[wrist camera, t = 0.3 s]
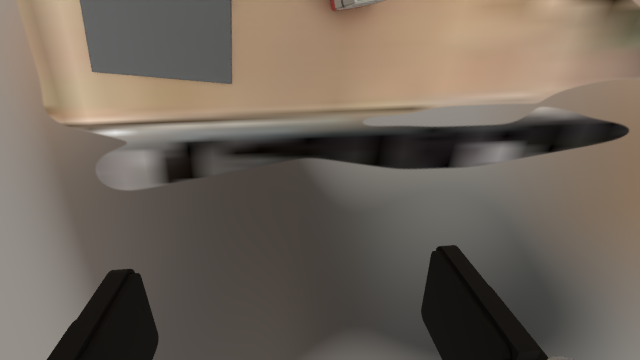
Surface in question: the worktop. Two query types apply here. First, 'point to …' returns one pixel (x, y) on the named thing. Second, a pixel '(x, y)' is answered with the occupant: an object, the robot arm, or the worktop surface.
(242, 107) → the worktop surface
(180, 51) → the mat
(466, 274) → the robot arm
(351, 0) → the ink box
